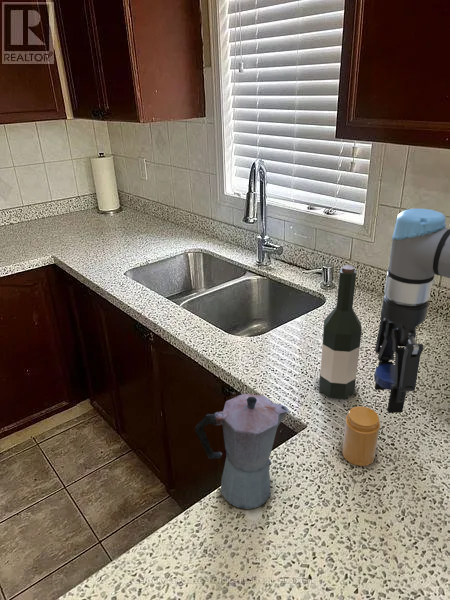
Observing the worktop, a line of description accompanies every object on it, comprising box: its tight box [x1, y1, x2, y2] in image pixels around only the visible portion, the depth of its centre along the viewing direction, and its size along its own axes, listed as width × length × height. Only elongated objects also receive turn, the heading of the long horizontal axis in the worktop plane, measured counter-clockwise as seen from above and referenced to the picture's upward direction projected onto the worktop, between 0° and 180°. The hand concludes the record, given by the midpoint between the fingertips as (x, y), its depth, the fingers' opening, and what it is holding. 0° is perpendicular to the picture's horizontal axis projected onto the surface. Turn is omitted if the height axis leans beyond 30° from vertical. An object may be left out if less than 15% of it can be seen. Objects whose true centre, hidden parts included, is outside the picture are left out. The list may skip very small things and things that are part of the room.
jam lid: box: [373, 363, 395, 391], centre depth 87 cm, size 6×6×2 cm
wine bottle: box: [318, 264, 363, 400], centre depth 96 cm, size 8×8×30 cm
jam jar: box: [341, 405, 381, 467], centre depth 83 cm, size 6×6×9 cm
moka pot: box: [194, 393, 291, 510], centre depth 74 cm, size 10×15×20 cm, turn 107°
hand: (388, 399), depth 90 cm, fingers closed on jam lid, 6 cm apart
